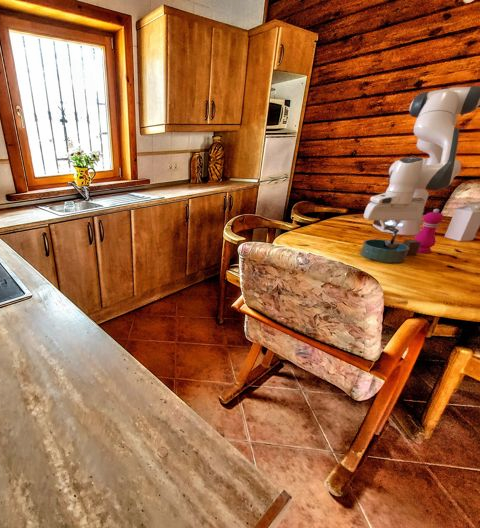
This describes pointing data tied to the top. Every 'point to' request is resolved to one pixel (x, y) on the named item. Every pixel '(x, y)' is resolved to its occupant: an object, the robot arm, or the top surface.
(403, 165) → the robot arm
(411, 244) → the dark brown block
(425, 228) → the pepper mill
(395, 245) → the dark grey angled piece
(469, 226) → the milk carton
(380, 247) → the bowl
